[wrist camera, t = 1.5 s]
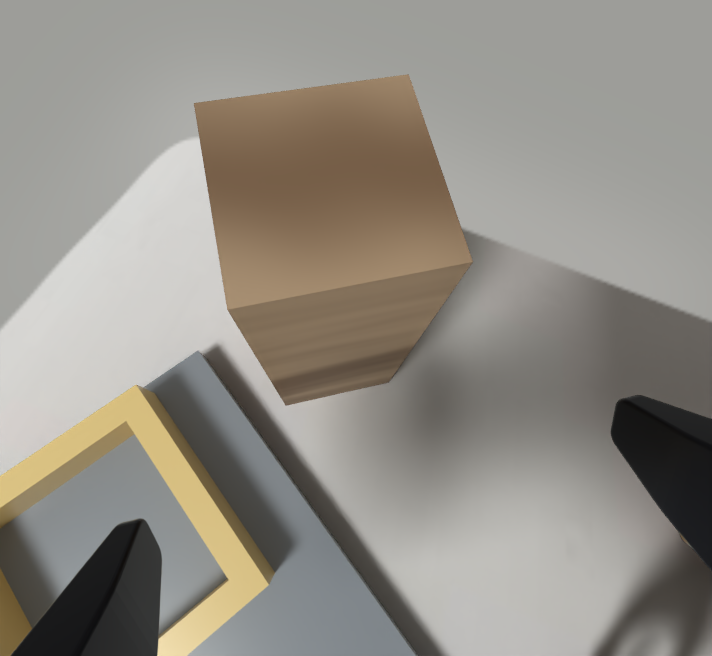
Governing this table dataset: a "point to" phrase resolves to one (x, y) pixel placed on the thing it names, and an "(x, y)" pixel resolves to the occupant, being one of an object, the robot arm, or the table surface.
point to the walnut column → (330, 229)
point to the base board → (187, 529)
